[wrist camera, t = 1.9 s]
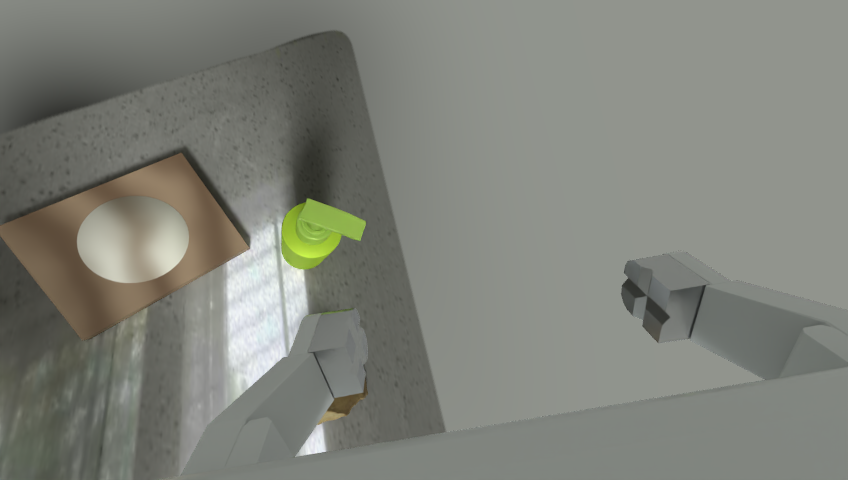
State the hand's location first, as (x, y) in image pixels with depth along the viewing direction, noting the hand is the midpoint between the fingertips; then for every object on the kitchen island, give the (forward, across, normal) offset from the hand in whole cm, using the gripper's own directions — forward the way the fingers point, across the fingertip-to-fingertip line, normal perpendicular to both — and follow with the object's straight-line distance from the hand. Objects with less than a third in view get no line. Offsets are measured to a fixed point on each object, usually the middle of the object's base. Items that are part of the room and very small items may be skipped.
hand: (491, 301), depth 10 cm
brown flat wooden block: (+28, +35, +6) cm, 46 cm away
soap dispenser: (+33, +19, +14) cm, 41 cm away
